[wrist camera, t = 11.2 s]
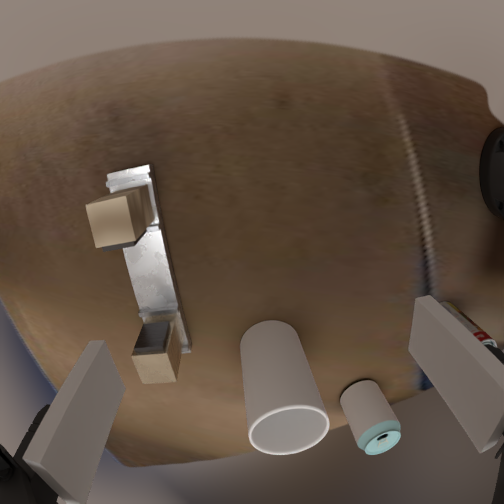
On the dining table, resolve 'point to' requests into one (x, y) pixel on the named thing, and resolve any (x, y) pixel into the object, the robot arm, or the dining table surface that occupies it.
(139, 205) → the block
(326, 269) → the dining table surface
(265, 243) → the dining table surface
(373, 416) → the can
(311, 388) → the cup
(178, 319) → the rail
